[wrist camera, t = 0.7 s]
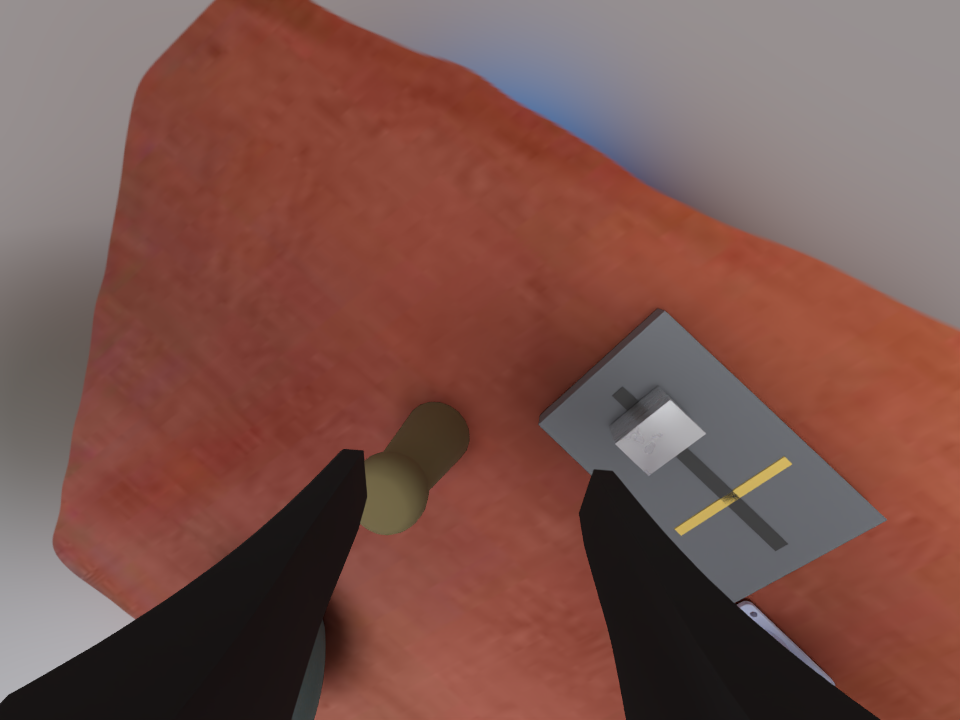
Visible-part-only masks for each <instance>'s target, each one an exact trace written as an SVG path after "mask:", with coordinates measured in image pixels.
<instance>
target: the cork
mask: <svg viewBox="0 0 960 720" xmlns="http://www.w3.org/2000/svg"><path fill="white" fill-rule="evenodd" d="M468 444H469V429H468V427H467V424H466V422H465V420H464V419H463V417H462V416H461V415H460V413H459V412H458V411H456V410H455V409H454V408H452V407H451V406H449V405H446V404H443V403H441V402H428V403H425V404H421V405H420V406H418V407H417V408H415V409H414V410H413V411H412V413H411V414H410V415H409V417H408V418H407V420H406V421H405V422H404V424H403V425H402V427H401V428H400V429H399V431H398V432H397V434H396V435H395V436H394V438H393V439H392V441H391V442H390V443H389V445H388V446H387V447H386V449H385V450H384V452H381V453H377V454H375V455H372V456H370V457H369V458H368V459H366V460H365V461H364V463H365V474H366V486H367V500H366V504H365V508H364V511H363V515H362V518H361V522H360V524H361V525H362V526H364V527H365V528H366V529H368V530H370V531H372V532H374V533H377V534H382V535H391V534H396V533H400V532H403V531H405V530H406V529H408V528H410V527H411V526H412V525H414V524H415V523H416V522H417V520H418V519H419V518H420V516H421V515H422V513H423V512H424V510H425V507H426V504H427V500H428V495H429V490H430V489H431V488H432V487H433V486H434V485H435V484H436V483H437V482H438V481H439V480H440V479H441V478H442V477H443V476H444V475H445V473H446V472H447V471H448V470H449V469H450V468H451V467H452V466H453V465H454V464H455V463H456V462H457V461H458V460H459V459H460V458H461V457H462V455H463V454H464V453H465V451H466V450H467V447H468Z"/></svg>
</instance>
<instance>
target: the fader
mask: <svg viewBox="0 0 960 720" xmlns="http://www.w3.org/2000/svg"><path fill="white" fill-rule="evenodd" d="M610 430H611V433H612V436H613V439H614V443H615V445H617V446H618V447H619V448H620V449H621V450H622V451H623V452H624V453H625V454H626V455H627V456H628V457H629V458H630V459H631V460H632V461H633V462H634V463H635V464H636V465H638V466H639V467H640V468H641V469H642V470H643V471H644V472H645V473H646V474H647V475H648V476H649V475H651V474H652V473H653V472H655V471H656V470H657V469H659V468H660V467H662V466H663V465H664V464H666V463H667V462H668V461H670V460H671V459H672V458H674V457H675V456H677V455H678V454H679V453H681V452H682V451H683V450H685V449H686V448H687V447H689V446H690V445H692V444H693V443H694V442H696V441H697V440H698V439H700V438H701V437H702V436H704V435H705V434H706V433H705V432H704V431H703V430H702V429H701V428H700V427H699V425H698V424H697V423H696V422H695V421H694V420H693V419H692V418H691V417H690V416H689V415H688V414H687V413H686V412H685V411H684V410H683V409H682V408H681V407H680V406H679V405H678V404H677V403H676V402H674V401H673V400H672V399H671V398H670V397H669V396H668V395H667V394H666V393H665V392H664V391H663V390H662V389H661V388H660V387H659V386H657V387H656V388H655V389H654V390H652V391H651V392H650V393H649V394H648V395H646V396H645V397H644V398H643V399H641V400H640V401H639V402H638V403H637V404H635V405H634V406H633V407H632V408H631V409H629V410H628V411H627V412H626V413H624V414H623V415H622V416H621V417H620V418H618V419H617V420H616V421H615V422H614V423H612V424H611V425H610Z"/></svg>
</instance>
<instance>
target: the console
mask: <svg viewBox="0 0 960 720" xmlns="http://www.w3.org/2000/svg"><path fill="white" fill-rule="evenodd" d="M657 386H659V387H660V388H661V389H662V390H663V391H664V392H665V393H666V394H667V395H668V396H669V397H670V398H671V399H672V400H673V401H674V402H676V403H677V404H678V405H679V406H680V407H681V408H682V409H683V410H684V411H685V412H686V413H687V414H688V415H689V416H690V417H691V418H692V419H693V420H694V421H695V422H696V423H697V424H698V425H699V427H700V428H701V429H702V430H703V431H704V432H705V433H706V434H705V435H704V436H702V437H701V438H700V439H698V440H697V441H696V442H694V443H693V444H692V445H690V446H689V447H687V448H686V449H685V450H683V451H682V452H681V453H679V454H678V455H677V456H675V457H674V458H672V459H671V460H670V461H668V462H667V463H666V464H664V465H663V466H662V467H660V468H659V469H657V470H656V471H655V472H653V473H652V474H651V475H649V476H648V475H647V474H646V473H645V472H644V471H643V470H642V469H641V468H640V467H639V466H638V465H636V464H635V463H634V462H633V461H632V460H631V459H630V458H629V457H628V456H627V455H626V454H625V453H624V452H623V451H622V450H621V449H620V448H619V447H618V446H617V445H615V443H614V439H613V436H612V433H611V430H610V425H611V424H612V423H614V422H615V421H616V420H617V419H618V418H620V417H621V416H622V415H623V414H624V413H626V412H627V411H628V410H629V409H631V408H632V407H633V406H634V405H635V404H637V403H638V402H639V401H640V400H641V399H643V398H644V397H645V396H646V395H648V394H649V393H650V392H651V391H652V390H654V389H655V388H656V387H657ZM538 425H539V426H540V427H541V428H542V429H543V430H545V431H546V432H547V433H548V434H549V435H550V436H551V437H552V438H553V439H554V440H555V441H556V442H557V443H558V444H559V445H560V446H561V447H562V448H563V449H564V450H565V451H566V452H568V453H569V454H570V455H571V456H572V457H573V458H574V459H575V460H576V461H577V462H578V463H579V464H580V465H581V466H582V467H583V468H584V469H585V470H586V471H587V472H588V473H589V474H591V475H592V473H593V470H594V469H598V470H610V471H613V472H614V473H615V474H616V475H617V476H618V477H619V479H620V480H621V481H622V482H623V484H624V485H625V486H626V487H627V488H628V490H629V491H630V492H631V493H632V495H633V496H634V497H635V498H636V499H637V501H638V502H639V503H640V504H641V505H642V507H643V508H644V509H645V510H646V511H647V513H648V514H649V515H650V516H651V517H652V518H653V520H654V521H655V522H656V523H657V524H658V525H659V526H660V528H661V529H662V530H663V531H664V532H665V533H666V534H667V536H668V537H669V538H670V539H671V540H672V541H673V542H674V543H675V544H676V545H677V547H678V548H679V549H680V550H681V551H682V552H683V553H684V554H685V555H686V556H687V557H688V558H689V559H690V560H691V561H692V562H693V563H694V564H695V565H696V567H697V568H698V569H699V570H700V571H701V572H702V573H703V574H704V575H705V576H706V577H707V578H708V579H709V580H710V581H712V582H713V583H714V584H715V585H716V586H717V587H718V588H719V589H720V590H721V591H722V592H723V593H724V594H725V595H726V596H727V597H728V598H730V599H731V600H732V601H733V602H734V603H735V602H737V601H739V600H741V599H743V598H745V597H746V596H748V595H750V594H752V593H754V592H756V591H757V590H759V589H761V588H763V587H765V586H767V585H769V584H770V583H772V582H774V581H776V580H778V579H780V578H781V577H783V576H785V575H787V574H789V573H791V572H792V571H794V570H796V569H798V568H800V567H802V566H804V565H805V564H807V563H809V562H811V561H813V560H815V559H816V558H818V557H820V556H822V555H824V554H826V553H827V552H829V551H831V550H833V549H835V548H837V547H839V546H840V545H842V544H844V543H846V542H848V541H850V540H851V539H853V538H855V537H857V536H859V535H861V534H862V533H864V532H866V531H868V530H870V529H872V528H874V527H875V526H877V525H879V524H881V523H883V522H885V521H886V520H887V519H886V518H885V517H884V516H882V515H881V514H880V513H879V512H878V511H877V510H876V509H875V508H874V507H873V506H872V505H871V504H870V503H869V502H868V501H867V500H865V499H864V498H863V497H862V496H861V495H860V494H859V493H858V492H857V491H856V490H855V489H854V488H853V487H852V486H851V485H850V484H848V483H847V482H846V481H845V480H844V479H843V478H842V477H841V476H840V475H839V474H838V473H837V472H836V471H835V470H834V469H833V468H831V467H830V466H829V465H828V464H827V463H826V462H825V461H824V460H823V459H822V458H821V457H820V456H819V455H818V454H817V453H816V452H814V451H813V450H812V449H811V448H810V447H809V446H808V445H807V444H806V443H805V442H804V441H803V440H802V439H801V438H800V437H799V436H797V435H796V434H795V433H794V432H793V431H792V430H791V429H790V428H789V427H788V426H787V425H786V424H785V423H784V422H783V421H782V420H780V419H779V418H778V417H777V416H776V415H775V414H774V413H773V412H772V411H771V410H770V409H769V408H768V407H767V406H766V405H765V404H763V403H762V402H761V401H760V400H759V399H758V398H757V397H756V396H755V395H754V394H753V393H752V392H751V391H750V390H749V389H748V388H746V387H745V386H744V385H743V384H742V383H741V382H740V381H739V380H738V379H737V378H736V377H735V376H734V375H733V374H732V373H731V372H729V371H728V370H727V369H726V368H725V367H724V366H723V365H722V364H721V363H720V362H719V361H718V360H717V359H716V358H715V357H714V356H712V355H711V354H710V353H709V352H708V351H707V350H706V349H705V348H704V347H703V346H702V345H701V344H700V343H699V342H698V341H697V340H695V339H694V338H693V337H692V336H691V335H690V334H689V333H688V332H687V331H686V330H685V329H684V328H683V327H682V326H681V325H680V324H679V323H677V322H676V321H675V320H674V319H673V318H672V317H671V316H670V315H669V314H668V313H667V312H666V311H664V310H661V309H656V310H655V311H654V312H653V313H652V314H651V315H650V316H649V317H648V318H646V319H645V320H644V321H643V322H642V323H641V324H640V325H639V326H638V327H637V328H635V329H634V330H633V331H632V332H631V333H630V334H629V335H628V336H627V337H626V338H624V339H623V340H622V341H621V342H620V343H619V344H618V345H617V346H616V347H615V348H613V349H612V350H611V351H610V352H609V353H608V354H607V355H606V356H605V357H604V358H602V359H601V360H600V361H599V362H598V363H597V364H596V365H595V366H594V367H593V368H591V369H590V370H589V371H588V372H587V373H586V374H585V375H584V376H583V377H582V378H580V379H579V380H578V381H577V382H576V383H575V384H574V385H573V386H572V387H571V388H569V389H568V390H567V391H566V392H565V393H564V394H563V395H562V396H561V397H560V398H558V399H557V400H556V401H555V402H554V403H553V404H552V405H551V406H550V407H549V408H547V409H546V410H545V411H544V412H543V413H542V414H541V415H540V418H539V424H538Z"/></svg>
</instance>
